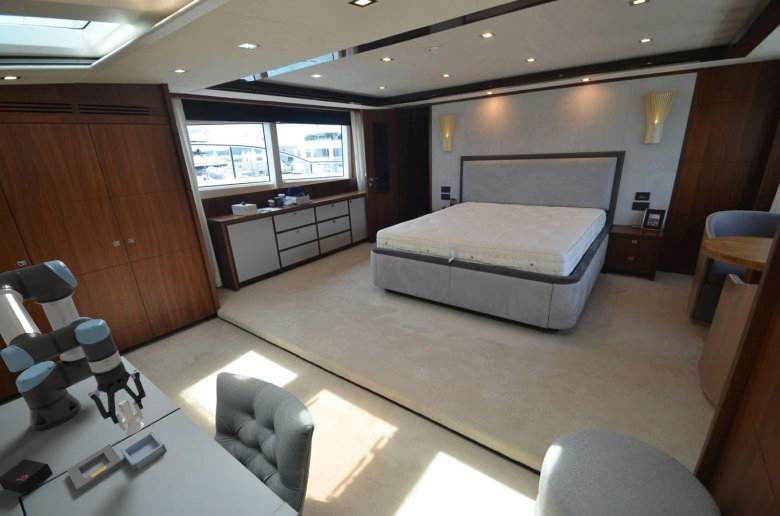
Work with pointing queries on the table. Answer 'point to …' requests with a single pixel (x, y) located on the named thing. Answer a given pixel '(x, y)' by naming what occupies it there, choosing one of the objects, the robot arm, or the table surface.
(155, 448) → the tray
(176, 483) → the table surface
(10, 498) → the table surface
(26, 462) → the electronic device
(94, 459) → the socket panel
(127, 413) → the white cylindrical piece
